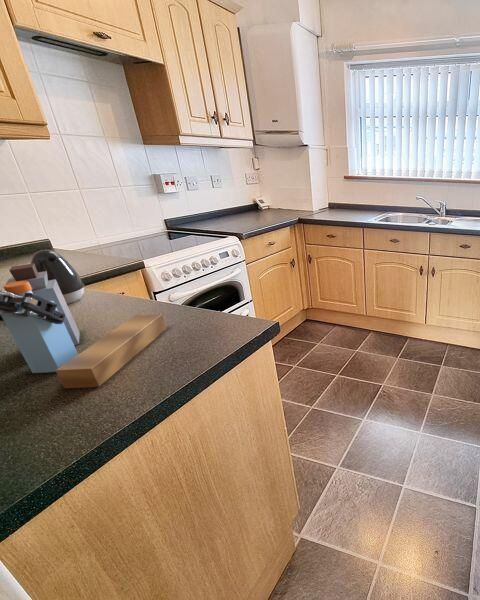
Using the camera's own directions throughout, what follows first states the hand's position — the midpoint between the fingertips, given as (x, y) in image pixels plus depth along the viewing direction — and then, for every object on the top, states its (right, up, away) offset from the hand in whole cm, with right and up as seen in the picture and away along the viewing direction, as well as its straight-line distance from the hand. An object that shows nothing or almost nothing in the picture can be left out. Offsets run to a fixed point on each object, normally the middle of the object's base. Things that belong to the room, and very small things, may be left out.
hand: (42, 320), depth 65 cm
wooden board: (+11, -8, +6) cm, 14 cm away
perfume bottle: (-7, -6, +10) cm, 14 cm away
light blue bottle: (0, 0, +1) cm, 1 cm away
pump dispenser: (-27, +3, +32) cm, 42 cm away
